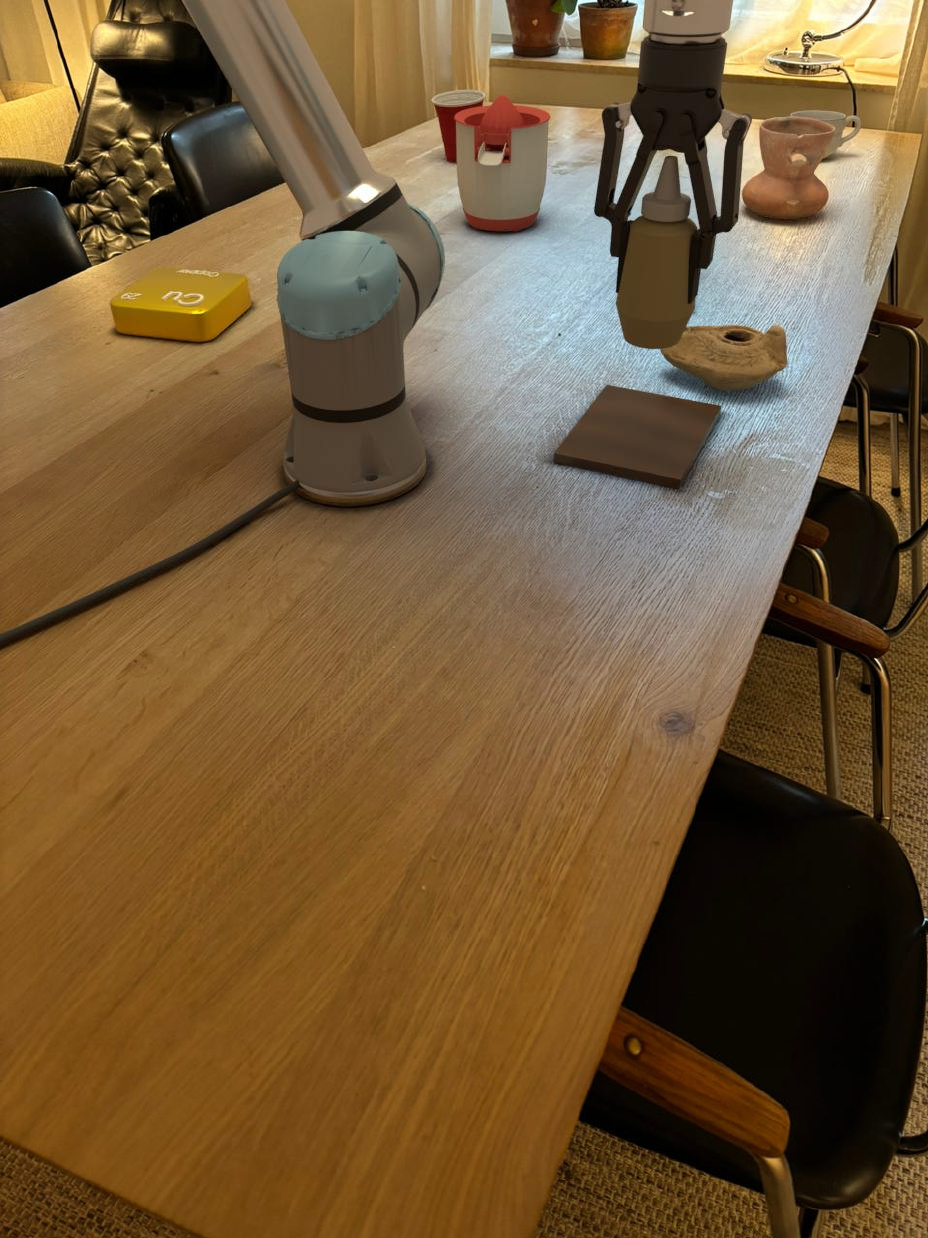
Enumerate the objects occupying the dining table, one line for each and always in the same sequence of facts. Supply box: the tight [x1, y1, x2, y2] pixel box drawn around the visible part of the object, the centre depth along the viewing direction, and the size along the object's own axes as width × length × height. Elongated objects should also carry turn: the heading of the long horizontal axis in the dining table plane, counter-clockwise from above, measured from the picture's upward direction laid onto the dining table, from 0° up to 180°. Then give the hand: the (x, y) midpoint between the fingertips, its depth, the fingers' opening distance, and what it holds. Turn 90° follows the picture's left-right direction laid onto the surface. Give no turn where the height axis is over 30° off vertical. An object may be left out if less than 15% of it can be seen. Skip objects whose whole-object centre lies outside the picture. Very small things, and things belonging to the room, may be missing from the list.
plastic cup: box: [430, 89, 487, 164], centre depth 200 cm, size 11×11×12 cm
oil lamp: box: [659, 324, 788, 393], centre depth 120 cm, size 11×15×8 cm
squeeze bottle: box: [615, 155, 698, 350], centre depth 99 cm, size 8×8×18 cm
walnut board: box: [553, 384, 723, 490], centre depth 112 cm, size 18×14×1 cm
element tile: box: [109, 266, 252, 343], centre depth 139 cm, size 15×15×5 cm
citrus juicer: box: [454, 94, 551, 233], centre depth 165 cm, size 16×17×20 cm
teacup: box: [789, 109, 862, 160], centre depth 199 cm, size 14×11×8 cm
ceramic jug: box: [741, 115, 835, 220], centre depth 170 cm, size 18×14×14 cm
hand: (656, 293), depth 102 cm, fingers closed on squeeze bottle, 6 cm apart
